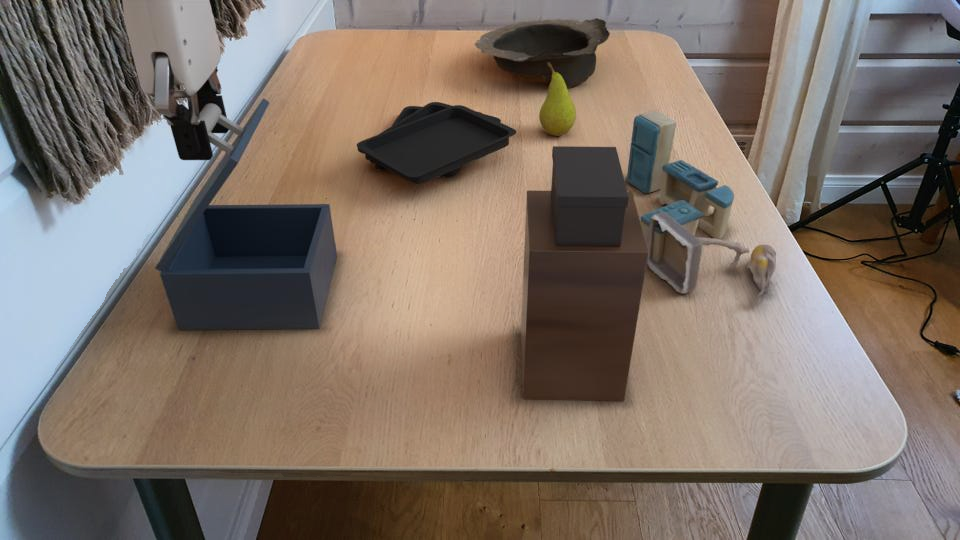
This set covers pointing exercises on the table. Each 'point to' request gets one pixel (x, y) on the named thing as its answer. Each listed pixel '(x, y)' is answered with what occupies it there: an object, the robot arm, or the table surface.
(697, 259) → the decorative sculpture
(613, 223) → the dark grey rectangular block
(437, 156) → the tray
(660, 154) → the toy kitchen set
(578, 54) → the stone bowl
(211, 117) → the box lid
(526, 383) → the stand
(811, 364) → the table surface
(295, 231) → the storage box
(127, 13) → the robot arm
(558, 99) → the fruit
